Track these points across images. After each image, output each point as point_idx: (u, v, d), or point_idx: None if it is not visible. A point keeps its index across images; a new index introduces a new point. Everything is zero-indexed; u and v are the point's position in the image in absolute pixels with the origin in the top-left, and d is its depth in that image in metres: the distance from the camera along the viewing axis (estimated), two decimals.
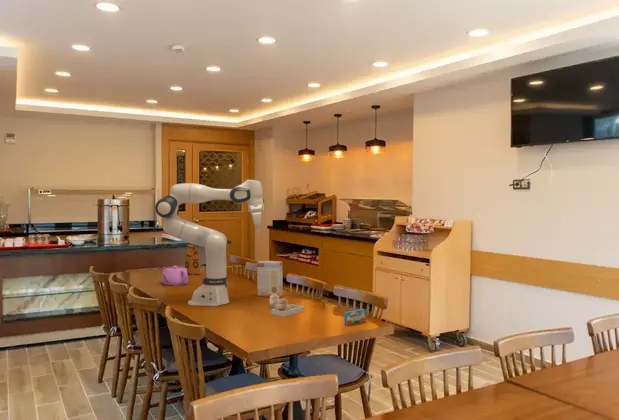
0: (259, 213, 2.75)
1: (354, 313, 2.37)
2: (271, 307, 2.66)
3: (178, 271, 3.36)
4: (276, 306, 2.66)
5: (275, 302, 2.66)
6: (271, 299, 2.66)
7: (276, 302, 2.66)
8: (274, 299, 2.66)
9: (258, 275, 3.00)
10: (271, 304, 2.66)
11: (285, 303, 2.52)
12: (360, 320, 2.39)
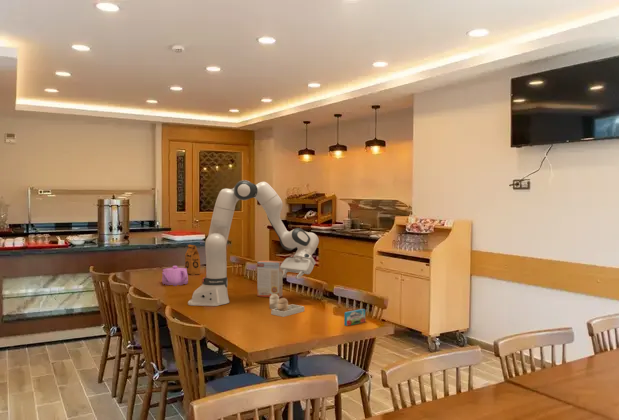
0: (313, 265, 2.78)
1: (354, 313, 2.37)
2: (271, 307, 2.66)
3: (178, 271, 3.36)
4: (276, 306, 2.66)
5: (275, 302, 2.66)
6: (271, 299, 2.66)
7: (276, 302, 2.66)
8: (274, 299, 2.66)
9: (258, 275, 3.00)
10: (271, 304, 2.66)
11: (285, 303, 2.52)
12: (360, 320, 2.39)
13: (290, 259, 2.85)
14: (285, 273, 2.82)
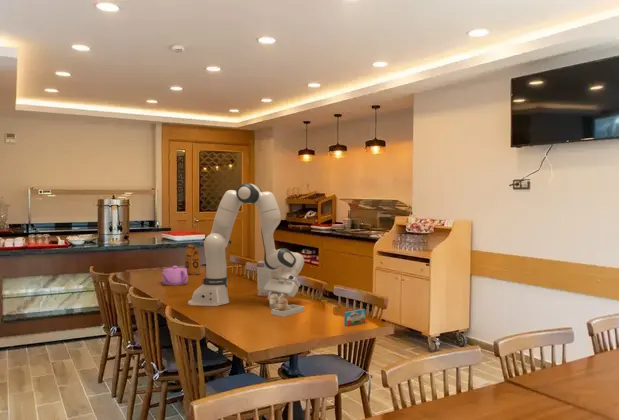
0: (297, 287, 2.68)
1: (354, 313, 2.37)
2: (271, 307, 2.66)
3: (178, 271, 3.36)
4: (276, 306, 2.66)
5: (275, 302, 2.66)
6: (271, 299, 2.66)
7: (276, 302, 2.66)
8: (274, 299, 2.66)
9: (258, 275, 3.00)
10: (271, 304, 2.66)
11: (285, 303, 2.52)
12: (360, 320, 2.39)
13: (274, 280, 2.76)
14: None
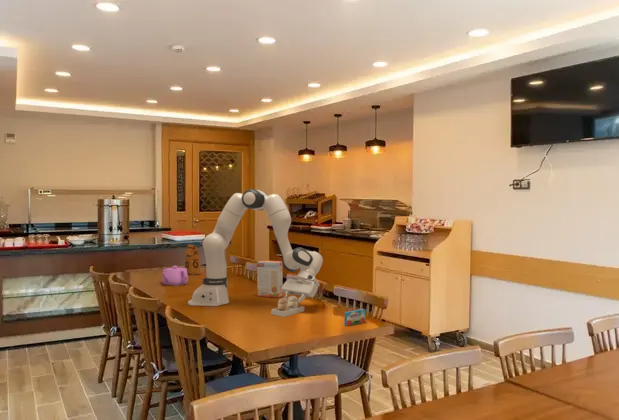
0: (317, 287, 2.60)
1: (354, 313, 2.37)
2: None
3: (178, 271, 3.36)
4: None
5: (294, 304, 2.58)
6: (290, 301, 2.58)
7: (295, 304, 2.58)
8: (293, 301, 2.58)
9: (258, 275, 3.00)
10: (290, 306, 2.58)
11: (285, 303, 2.52)
12: (360, 320, 2.39)
13: (292, 280, 2.67)
14: (287, 295, 2.64)
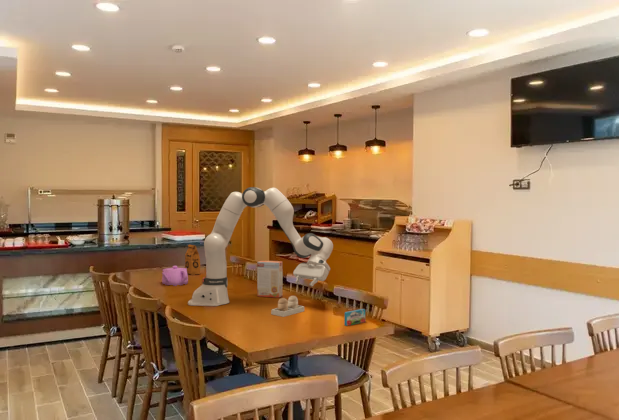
0: None
1: (354, 313, 2.37)
2: None
3: (178, 271, 3.36)
4: None
5: (294, 304, 2.58)
6: (290, 301, 2.58)
7: (295, 304, 2.58)
8: (293, 301, 2.58)
9: (258, 275, 3.00)
10: (290, 306, 2.58)
11: (285, 303, 2.52)
12: (360, 320, 2.39)
13: (303, 265, 2.74)
14: (298, 279, 2.71)
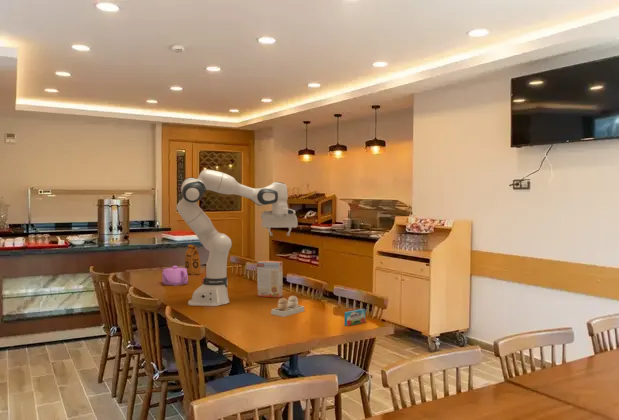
0: None
1: (354, 313, 2.37)
2: None
3: (178, 271, 3.36)
4: None
5: (294, 304, 2.58)
6: (290, 301, 2.58)
7: (295, 304, 2.58)
8: (293, 301, 2.58)
9: (258, 275, 3.00)
10: (290, 306, 2.58)
11: (285, 303, 2.52)
12: (360, 320, 2.39)
13: (270, 216, 2.83)
14: (270, 231, 2.85)
